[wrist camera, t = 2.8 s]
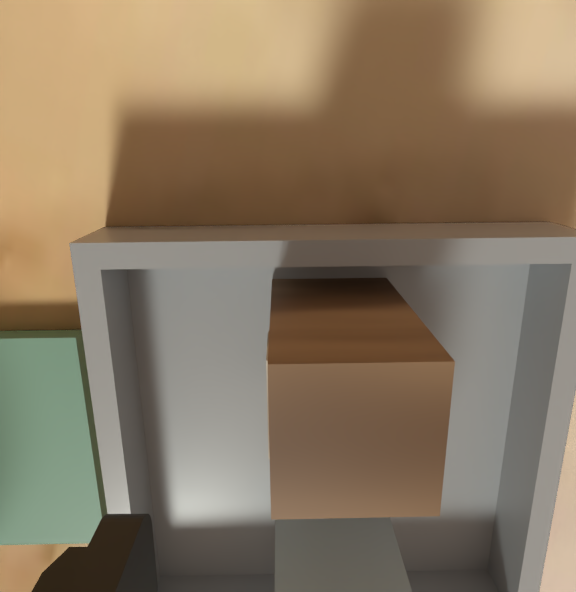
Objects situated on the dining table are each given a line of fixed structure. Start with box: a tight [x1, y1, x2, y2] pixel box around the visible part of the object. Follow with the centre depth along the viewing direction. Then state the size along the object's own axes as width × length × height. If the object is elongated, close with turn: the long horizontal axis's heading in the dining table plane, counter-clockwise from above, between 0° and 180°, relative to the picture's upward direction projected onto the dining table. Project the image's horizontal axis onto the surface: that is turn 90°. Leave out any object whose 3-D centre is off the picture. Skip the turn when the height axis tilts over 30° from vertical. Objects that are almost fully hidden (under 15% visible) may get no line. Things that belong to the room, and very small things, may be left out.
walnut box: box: [266, 278, 455, 520], centre depth 14 cm, size 4×4×7 cm
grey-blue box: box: [275, 517, 412, 592], centre depth 17 cm, size 4×4×7 cm
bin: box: [69, 222, 576, 592], centre depth 18 cm, size 16×16×3 cm
